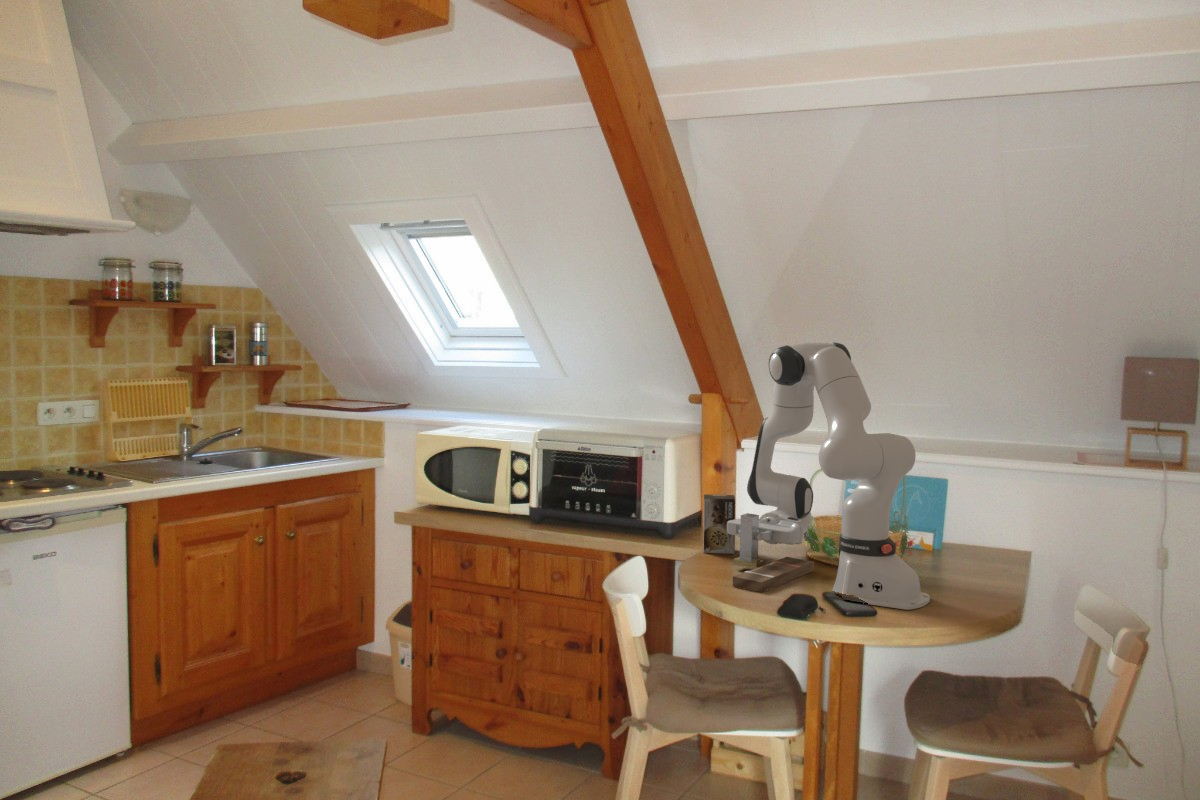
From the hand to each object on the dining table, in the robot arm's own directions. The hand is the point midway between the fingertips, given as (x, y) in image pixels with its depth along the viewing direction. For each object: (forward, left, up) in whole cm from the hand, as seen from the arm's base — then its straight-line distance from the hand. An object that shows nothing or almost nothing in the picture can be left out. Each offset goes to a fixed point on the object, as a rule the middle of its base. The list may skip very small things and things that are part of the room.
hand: (748, 535), depth 246 cm
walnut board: (-9, +2, -9) cm, 13 cm away
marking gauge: (0, 0, -8) cm, 8 cm away
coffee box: (+18, -14, -10) cm, 25 cm away
